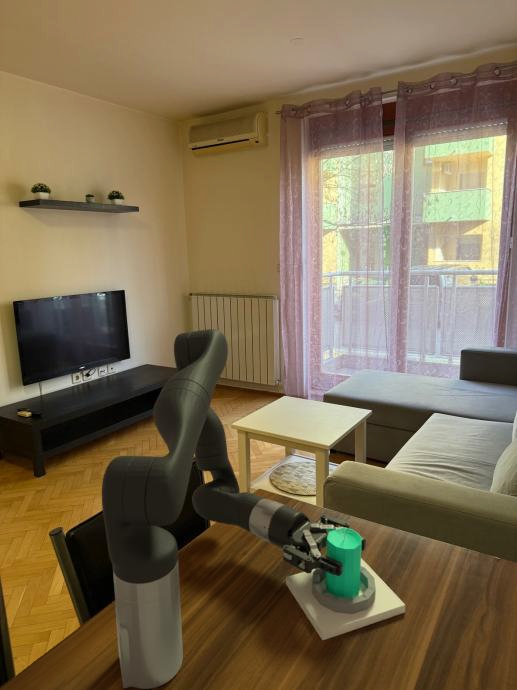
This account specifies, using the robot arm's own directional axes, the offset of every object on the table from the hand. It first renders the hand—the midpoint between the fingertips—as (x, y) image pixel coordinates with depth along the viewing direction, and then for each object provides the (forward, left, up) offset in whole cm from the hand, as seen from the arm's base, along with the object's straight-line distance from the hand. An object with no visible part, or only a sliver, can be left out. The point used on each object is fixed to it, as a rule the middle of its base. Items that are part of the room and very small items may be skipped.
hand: (353, 557), depth 83 cm
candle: (-1, +2, -8) cm, 8 cm away
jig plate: (-1, +2, -9) cm, 9 cm away
